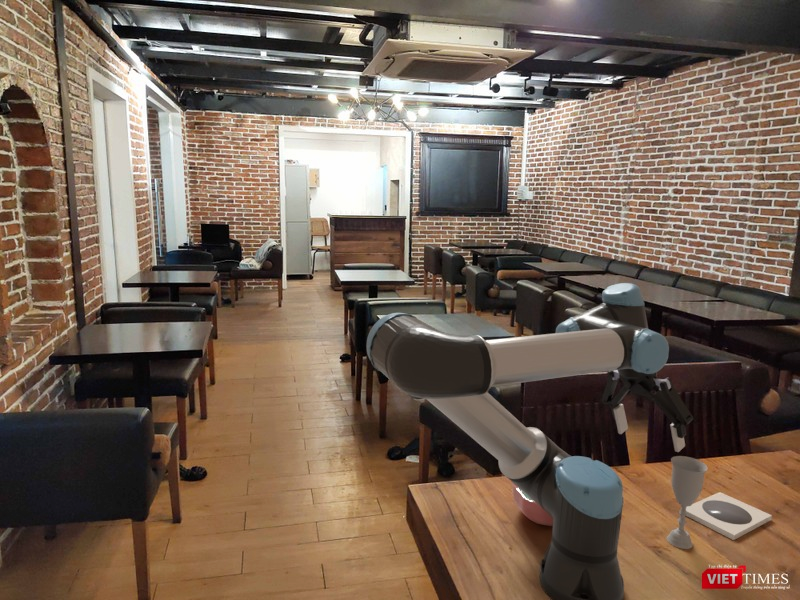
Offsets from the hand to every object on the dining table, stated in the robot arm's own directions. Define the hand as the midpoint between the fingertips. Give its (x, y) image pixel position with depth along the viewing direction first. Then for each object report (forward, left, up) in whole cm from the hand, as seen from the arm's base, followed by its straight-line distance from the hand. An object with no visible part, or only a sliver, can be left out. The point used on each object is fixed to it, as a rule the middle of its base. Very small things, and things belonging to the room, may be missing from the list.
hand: (650, 439), depth 122 cm
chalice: (+1, -9, -20) cm, 22 cm away
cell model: (-17, +12, -20) cm, 29 cm away
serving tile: (+20, -8, -20) cm, 29 cm away
